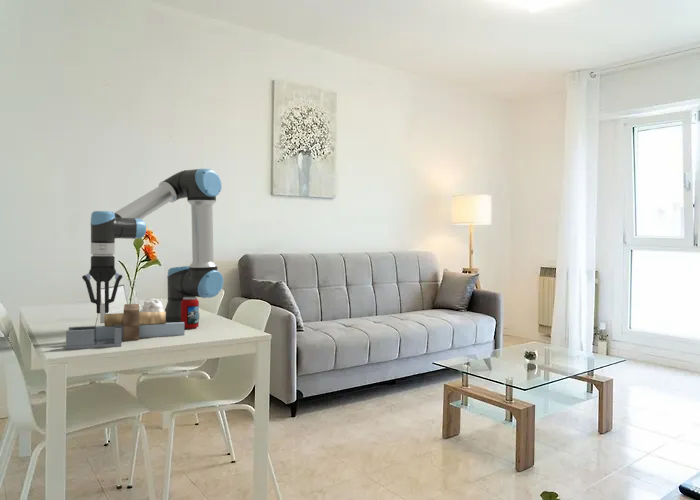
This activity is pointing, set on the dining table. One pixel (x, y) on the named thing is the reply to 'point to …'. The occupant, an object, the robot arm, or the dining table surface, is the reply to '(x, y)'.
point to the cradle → (90, 338)
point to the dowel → (143, 318)
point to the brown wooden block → (131, 322)
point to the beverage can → (190, 312)
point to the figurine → (152, 305)
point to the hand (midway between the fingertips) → (102, 322)
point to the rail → (144, 330)
